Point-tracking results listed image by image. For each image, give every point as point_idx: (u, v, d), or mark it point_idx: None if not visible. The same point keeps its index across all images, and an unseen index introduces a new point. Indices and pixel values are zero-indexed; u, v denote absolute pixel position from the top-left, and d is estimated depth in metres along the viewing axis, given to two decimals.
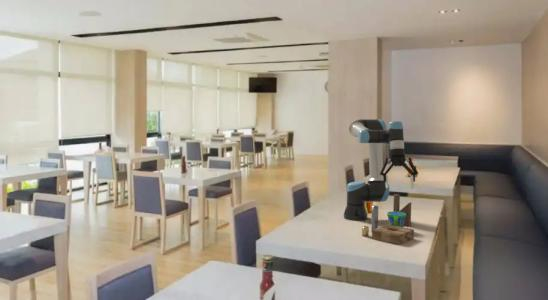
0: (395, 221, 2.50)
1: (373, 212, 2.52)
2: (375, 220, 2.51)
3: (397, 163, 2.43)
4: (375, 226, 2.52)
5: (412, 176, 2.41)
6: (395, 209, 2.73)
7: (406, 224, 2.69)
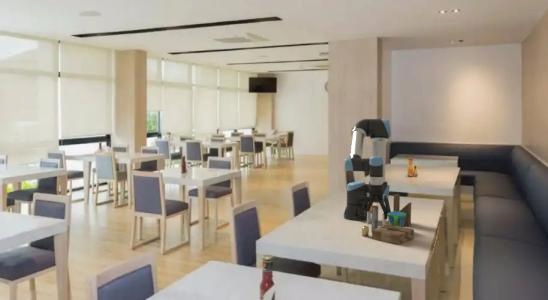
0: (395, 221, 2.50)
1: (373, 212, 2.52)
2: (375, 220, 2.51)
3: (374, 198, 2.51)
4: (375, 226, 2.52)
5: (383, 214, 2.48)
6: (395, 209, 2.73)
7: (406, 224, 2.69)
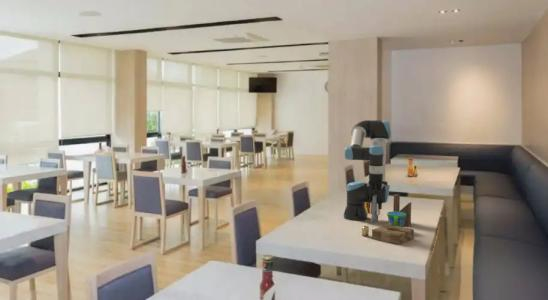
0: (395, 221, 2.50)
1: (373, 201, 2.51)
2: (375, 209, 2.51)
3: (373, 187, 2.52)
4: (375, 215, 2.52)
5: (377, 204, 2.50)
6: (395, 209, 2.73)
7: (406, 224, 2.69)
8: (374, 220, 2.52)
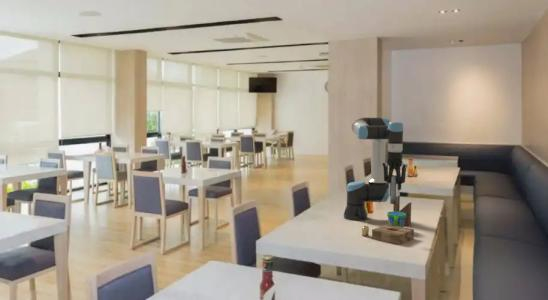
0: (395, 221, 2.50)
1: (392, 182, 2.37)
2: (394, 190, 2.37)
3: (392, 166, 2.37)
4: (394, 197, 2.37)
5: (396, 185, 2.36)
6: (395, 209, 2.73)
7: (406, 224, 2.69)
8: (393, 201, 2.37)
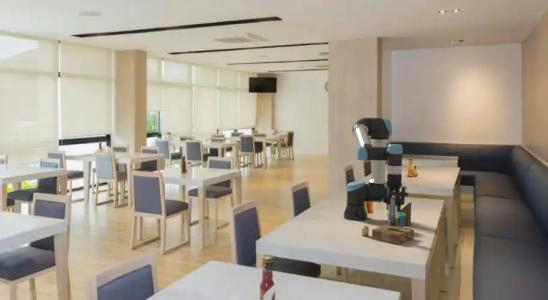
0: None
1: (392, 203, 2.38)
2: (394, 212, 2.38)
3: (392, 188, 2.38)
4: (394, 218, 2.38)
5: (396, 207, 2.37)
6: None
7: (406, 224, 2.69)
8: (392, 223, 2.38)
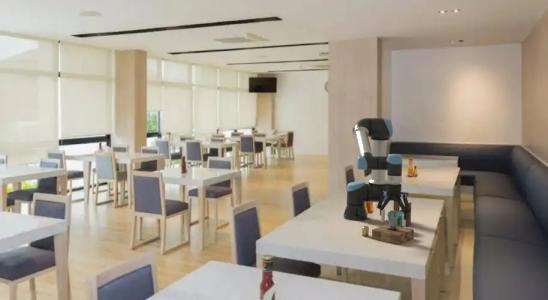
0: None
1: (391, 217, 2.38)
2: (393, 226, 2.38)
3: (391, 198, 2.39)
4: None
5: (403, 214, 2.34)
6: (395, 209, 2.73)
7: (406, 224, 2.69)
8: None
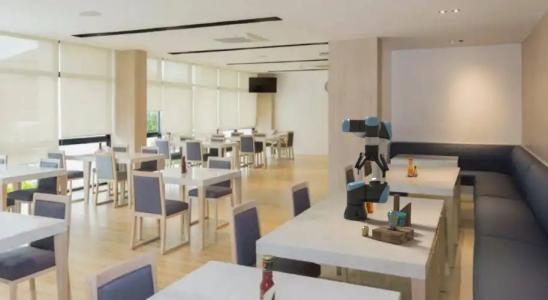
0: None
1: (391, 217, 2.38)
2: (393, 226, 2.38)
3: (369, 159, 2.50)
4: None
5: (381, 173, 2.46)
6: (395, 209, 2.73)
7: (406, 224, 2.69)
8: None
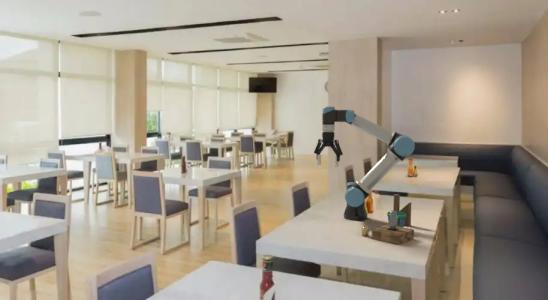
0: None
1: (391, 217, 2.38)
2: (393, 226, 2.38)
3: (326, 144, 2.77)
4: None
5: (335, 157, 2.72)
6: (395, 209, 2.73)
7: (406, 224, 2.69)
8: None
